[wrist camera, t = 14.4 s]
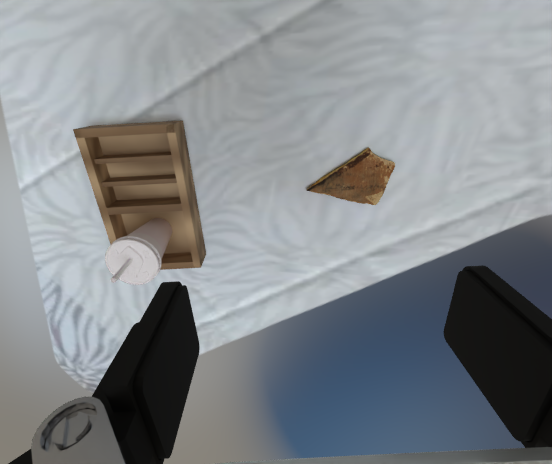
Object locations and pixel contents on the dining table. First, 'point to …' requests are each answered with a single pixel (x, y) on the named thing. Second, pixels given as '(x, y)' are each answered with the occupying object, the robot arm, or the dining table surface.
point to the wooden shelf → (145, 184)
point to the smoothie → (139, 253)
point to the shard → (357, 179)
